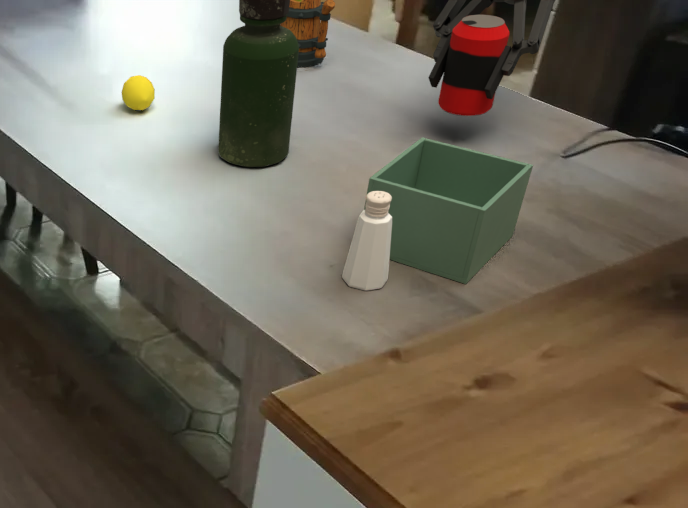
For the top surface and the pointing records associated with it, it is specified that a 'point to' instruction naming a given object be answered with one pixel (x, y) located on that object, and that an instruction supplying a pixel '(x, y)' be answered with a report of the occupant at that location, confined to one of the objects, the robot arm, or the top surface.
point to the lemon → (138, 92)
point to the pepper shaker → (370, 245)
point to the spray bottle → (258, 86)
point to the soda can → (472, 64)
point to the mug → (309, 28)
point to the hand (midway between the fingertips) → (460, 88)
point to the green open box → (450, 206)
